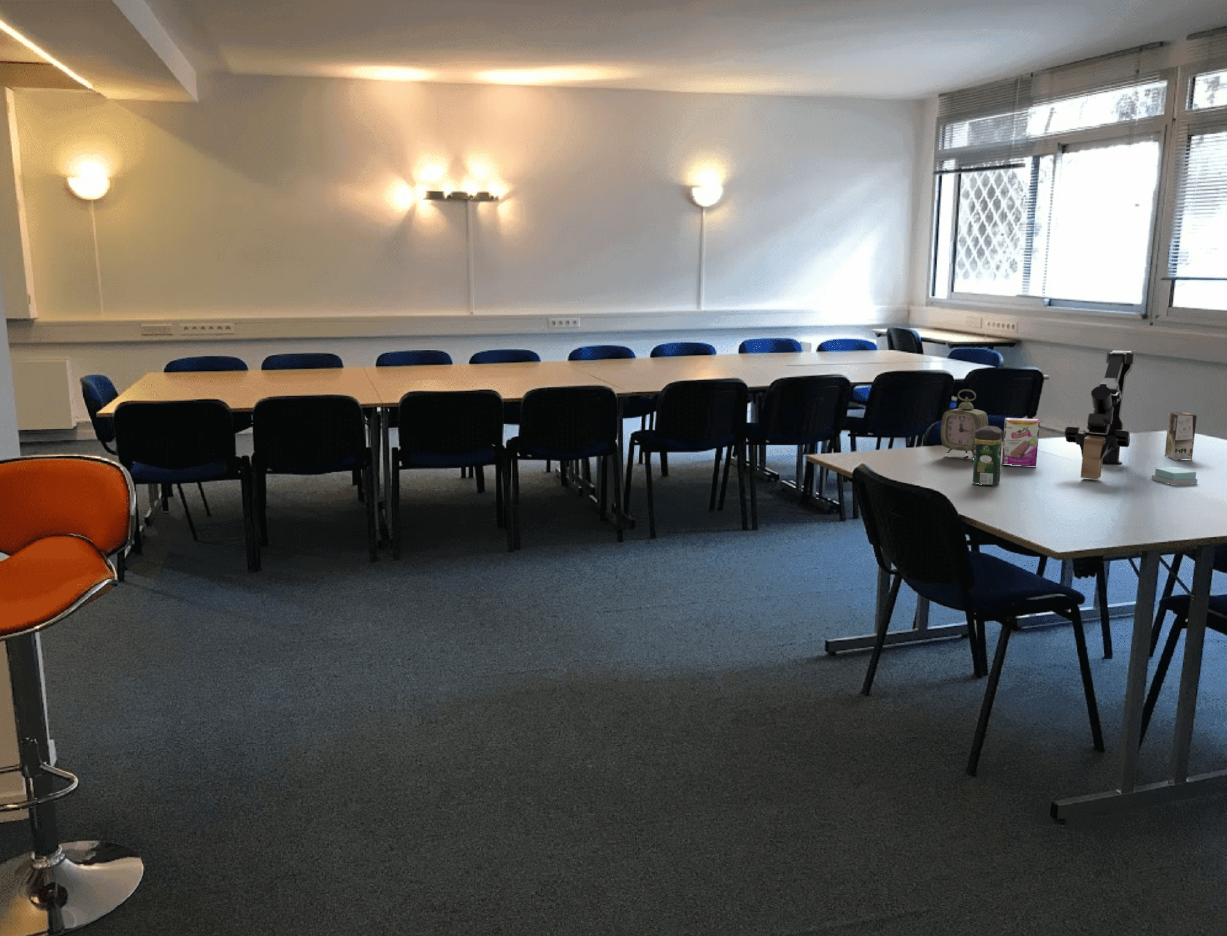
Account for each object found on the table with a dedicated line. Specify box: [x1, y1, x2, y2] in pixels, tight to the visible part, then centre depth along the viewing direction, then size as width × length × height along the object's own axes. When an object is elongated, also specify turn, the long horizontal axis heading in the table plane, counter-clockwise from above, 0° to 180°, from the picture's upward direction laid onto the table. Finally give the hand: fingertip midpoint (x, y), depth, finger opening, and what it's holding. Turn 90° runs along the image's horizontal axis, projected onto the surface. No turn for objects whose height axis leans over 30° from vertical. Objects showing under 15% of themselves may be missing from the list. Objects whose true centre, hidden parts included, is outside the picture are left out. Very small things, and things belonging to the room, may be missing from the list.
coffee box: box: [1164, 411, 1198, 461], centre depth 346 cm, size 9×6×16 cm
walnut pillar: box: [1079, 436, 1105, 481], centre depth 314 cm, size 5×5×13 cm
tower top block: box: [1154, 466, 1197, 480], centre depth 310 cm, size 8×8×2 cm
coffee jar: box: [972, 425, 1004, 486], centre depth 311 cm, size 10×8×19 cm
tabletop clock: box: [940, 388, 989, 459], centre depth 352 cm, size 14×9×25 cm, turn 42°
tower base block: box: [1151, 474, 1198, 485], centre depth 311 cm, size 9×9×2 cm
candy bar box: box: [1001, 417, 1041, 467], centre depth 337 cm, size 11×5×16 cm, turn 71°
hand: (1091, 457), depth 313 cm, fingers closed on walnut pillar, 5 cm apart
